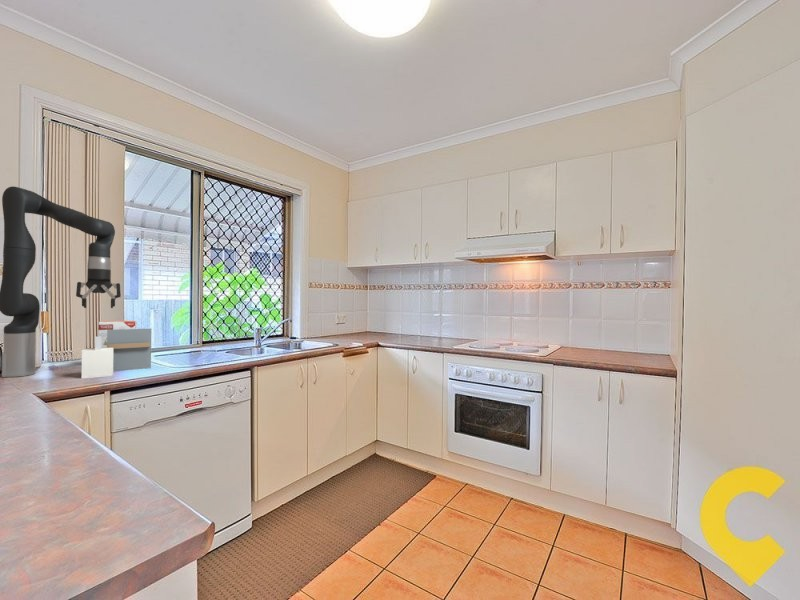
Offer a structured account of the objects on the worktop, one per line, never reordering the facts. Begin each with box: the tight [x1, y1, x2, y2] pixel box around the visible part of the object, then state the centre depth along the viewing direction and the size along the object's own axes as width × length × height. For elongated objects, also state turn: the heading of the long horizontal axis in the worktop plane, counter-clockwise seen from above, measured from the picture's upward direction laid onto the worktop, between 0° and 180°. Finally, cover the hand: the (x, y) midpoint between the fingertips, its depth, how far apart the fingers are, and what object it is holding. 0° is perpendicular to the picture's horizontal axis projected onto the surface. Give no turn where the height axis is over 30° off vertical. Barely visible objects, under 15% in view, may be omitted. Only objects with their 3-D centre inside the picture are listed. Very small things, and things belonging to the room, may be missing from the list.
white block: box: [81, 336, 114, 379], centre depth 156 cm, size 10×7×16 cm
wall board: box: [107, 328, 152, 372], centre depth 170 cm, size 16×8×18 cm, turn 128°
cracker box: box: [97, 320, 137, 348], centre depth 179 cm, size 14×6×21 cm, turn 121°
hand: (98, 307), depth 155 cm, fingers open, 8 cm apart
